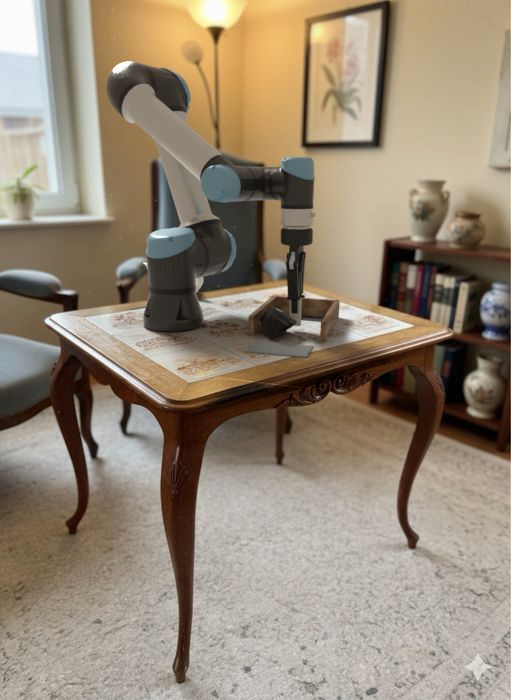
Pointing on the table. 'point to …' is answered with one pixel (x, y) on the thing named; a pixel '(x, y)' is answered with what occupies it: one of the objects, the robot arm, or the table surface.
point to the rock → (275, 322)
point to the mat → (279, 348)
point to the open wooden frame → (310, 311)
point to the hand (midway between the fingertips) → (295, 324)
